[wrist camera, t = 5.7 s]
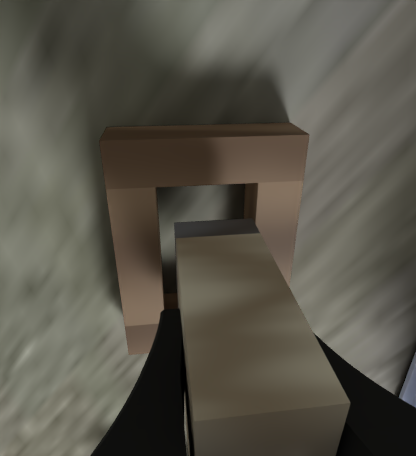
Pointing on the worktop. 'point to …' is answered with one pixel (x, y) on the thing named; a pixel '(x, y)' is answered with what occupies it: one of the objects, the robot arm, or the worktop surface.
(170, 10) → the worktop surface
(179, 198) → the worktop surface
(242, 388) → the peg
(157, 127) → the holder
